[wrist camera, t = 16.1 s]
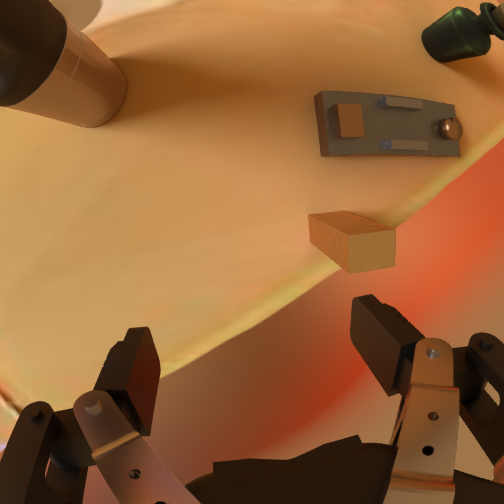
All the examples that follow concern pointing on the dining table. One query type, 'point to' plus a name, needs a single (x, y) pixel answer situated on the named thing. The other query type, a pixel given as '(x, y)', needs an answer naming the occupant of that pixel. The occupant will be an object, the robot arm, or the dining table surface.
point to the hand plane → (385, 125)
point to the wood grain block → (353, 241)
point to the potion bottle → (464, 33)
